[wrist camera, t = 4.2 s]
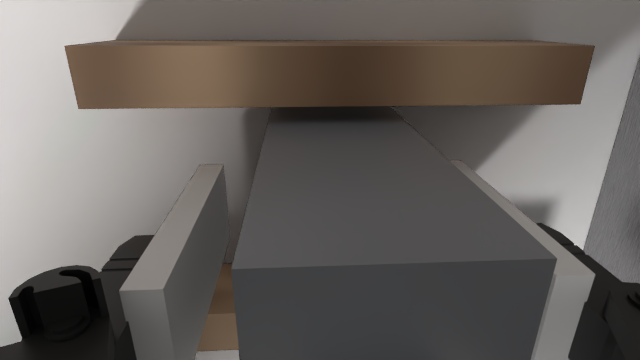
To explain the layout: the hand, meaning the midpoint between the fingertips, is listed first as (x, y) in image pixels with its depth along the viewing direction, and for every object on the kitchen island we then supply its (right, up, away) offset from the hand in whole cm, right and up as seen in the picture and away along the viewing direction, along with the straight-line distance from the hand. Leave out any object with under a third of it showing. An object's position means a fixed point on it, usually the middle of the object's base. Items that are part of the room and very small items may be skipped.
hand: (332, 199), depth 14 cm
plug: (0, +1, +2) cm, 2 cm away
